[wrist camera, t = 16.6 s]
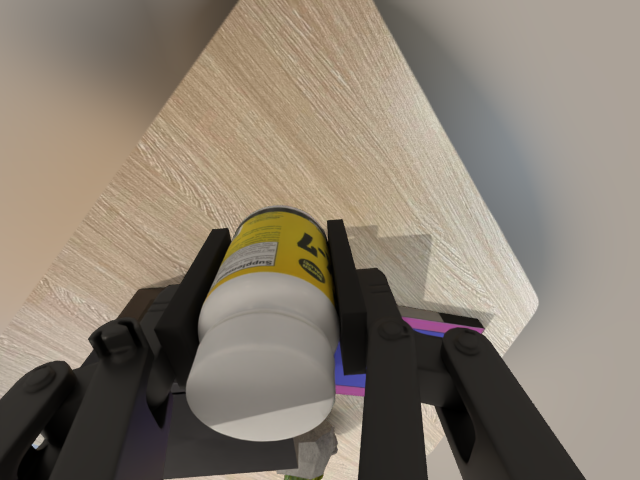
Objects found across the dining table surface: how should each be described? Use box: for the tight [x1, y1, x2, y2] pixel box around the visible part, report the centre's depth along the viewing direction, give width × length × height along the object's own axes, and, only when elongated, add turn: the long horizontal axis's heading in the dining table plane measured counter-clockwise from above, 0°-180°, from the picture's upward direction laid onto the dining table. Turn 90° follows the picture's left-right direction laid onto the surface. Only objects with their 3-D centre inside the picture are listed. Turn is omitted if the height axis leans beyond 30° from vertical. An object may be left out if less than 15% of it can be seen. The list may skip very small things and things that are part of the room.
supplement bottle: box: [186, 205, 340, 441], centre depth 12 cm, size 5×5×8 cm
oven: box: [163, 392, 299, 479], centre depth 46 cm, size 18×24×18 cm
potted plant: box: [276, 420, 338, 480], centre depth 64 cm, size 12×13×15 cm
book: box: [334, 305, 485, 396], centre depth 57 cm, size 21×3×30 cm
